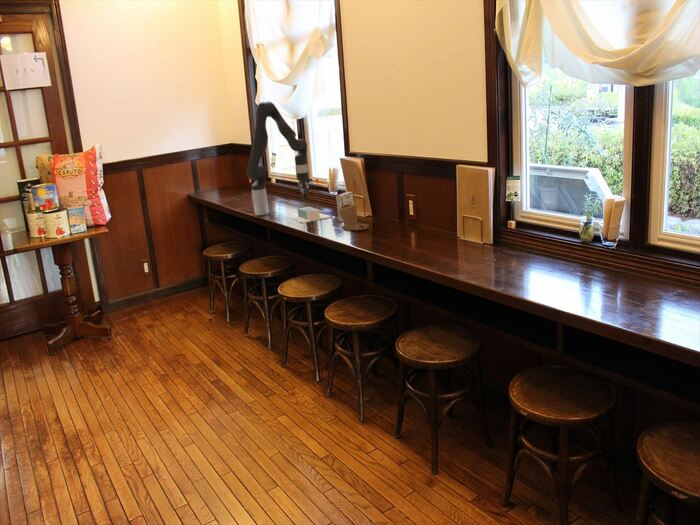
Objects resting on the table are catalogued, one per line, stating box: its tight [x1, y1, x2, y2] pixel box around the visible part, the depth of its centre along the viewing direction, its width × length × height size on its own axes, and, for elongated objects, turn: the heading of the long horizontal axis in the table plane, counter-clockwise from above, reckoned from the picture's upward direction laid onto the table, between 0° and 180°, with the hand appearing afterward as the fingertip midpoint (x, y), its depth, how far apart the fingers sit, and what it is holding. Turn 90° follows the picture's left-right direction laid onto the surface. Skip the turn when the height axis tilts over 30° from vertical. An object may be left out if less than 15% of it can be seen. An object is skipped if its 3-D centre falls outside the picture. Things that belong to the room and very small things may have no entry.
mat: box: [290, 212, 332, 224], centre depth 392 cm, size 17×20×1 cm
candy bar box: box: [335, 191, 355, 223], centre depth 377 cm, size 11×5×16 cm, turn 143°
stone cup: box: [339, 203, 370, 231], centre depth 352 cm, size 15×12×15 cm
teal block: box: [297, 206, 320, 220], centre depth 393 cm, size 5×8×14 cm
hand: (305, 198), depth 394 cm, fingers closed
